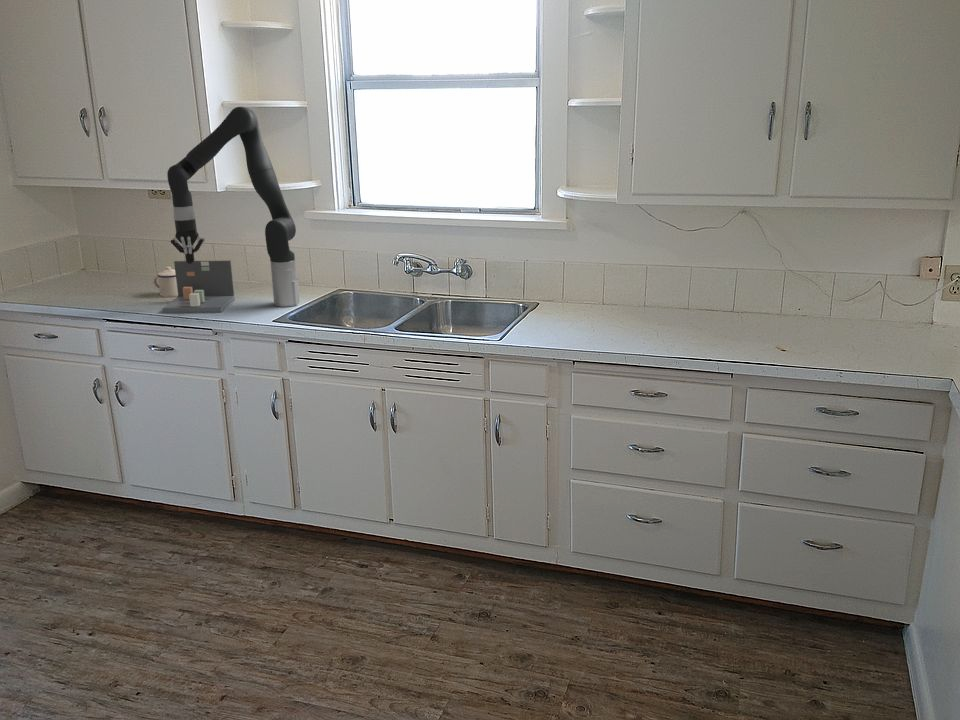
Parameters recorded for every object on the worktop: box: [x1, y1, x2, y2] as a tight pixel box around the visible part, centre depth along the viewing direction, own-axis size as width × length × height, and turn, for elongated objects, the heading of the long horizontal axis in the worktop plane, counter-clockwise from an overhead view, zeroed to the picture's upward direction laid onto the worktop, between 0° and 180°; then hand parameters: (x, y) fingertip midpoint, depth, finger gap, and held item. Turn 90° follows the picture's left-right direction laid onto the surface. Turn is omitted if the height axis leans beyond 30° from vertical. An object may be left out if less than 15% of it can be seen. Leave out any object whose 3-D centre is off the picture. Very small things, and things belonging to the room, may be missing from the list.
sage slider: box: [194, 290, 205, 303], centre depth 333 cm, size 3×2×4 cm
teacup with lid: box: [153, 266, 178, 298], centre depth 354 cm, size 12×9×12 cm
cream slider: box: [189, 293, 200, 306], centre depth 328 cm, size 3×2×4 cm
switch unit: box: [162, 259, 236, 314], centre depth 334 cm, size 22×19×16 cm
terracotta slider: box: [182, 287, 193, 300], centre depth 338 cm, size 3×2×4 cm
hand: (190, 263), depth 334 cm, fingers closed
